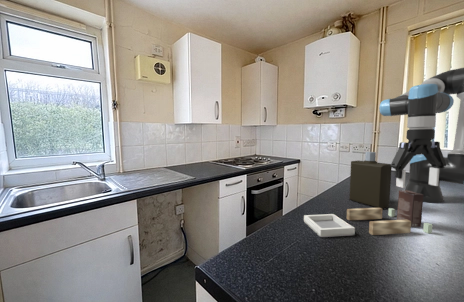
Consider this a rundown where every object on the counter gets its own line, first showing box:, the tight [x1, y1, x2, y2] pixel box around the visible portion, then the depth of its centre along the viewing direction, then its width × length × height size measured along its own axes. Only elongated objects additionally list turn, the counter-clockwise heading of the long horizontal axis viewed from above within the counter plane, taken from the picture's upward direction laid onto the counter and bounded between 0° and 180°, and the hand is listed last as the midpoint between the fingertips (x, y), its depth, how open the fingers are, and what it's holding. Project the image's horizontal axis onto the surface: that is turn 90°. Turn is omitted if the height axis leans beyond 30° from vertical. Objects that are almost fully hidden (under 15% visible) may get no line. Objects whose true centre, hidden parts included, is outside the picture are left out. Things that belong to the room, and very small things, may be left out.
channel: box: [346, 207, 412, 236], centre depth 75 cm, size 14×13×4 cm
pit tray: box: [303, 213, 356, 238], centre depth 73 cm, size 12×12×2 cm
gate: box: [387, 207, 433, 234], centre depth 76 cm, size 2×16×3 cm, turn 6°
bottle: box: [348, 151, 392, 210], centre depth 98 cm, size 8×16×25 cm, turn 28°
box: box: [396, 189, 424, 228], centre depth 76 cm, size 6×4×12 cm
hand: (416, 186), depth 76 cm, fingers open, 13 cm apart
